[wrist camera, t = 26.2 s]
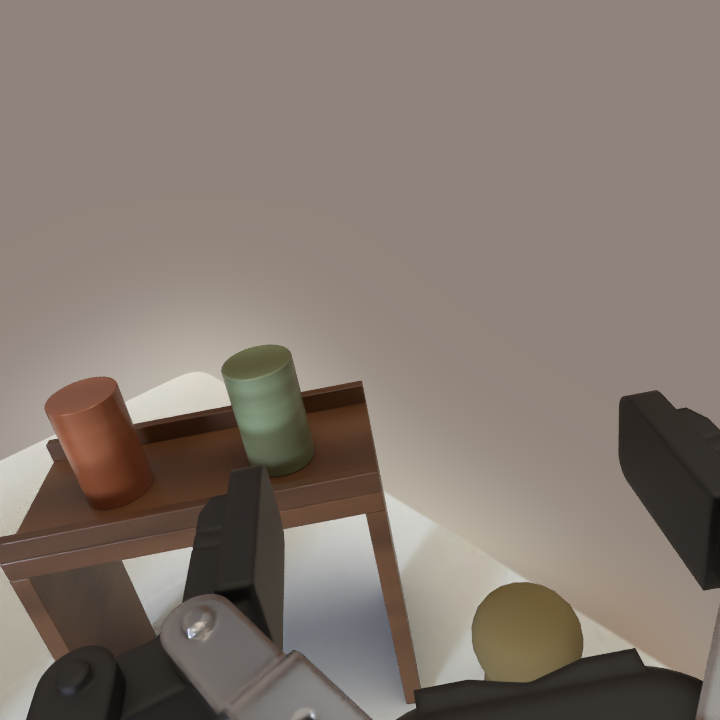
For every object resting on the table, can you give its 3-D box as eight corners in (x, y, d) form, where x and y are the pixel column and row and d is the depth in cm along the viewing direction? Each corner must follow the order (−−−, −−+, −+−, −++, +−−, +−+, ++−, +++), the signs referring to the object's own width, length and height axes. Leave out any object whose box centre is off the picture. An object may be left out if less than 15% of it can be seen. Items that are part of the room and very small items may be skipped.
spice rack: (423, 701, 41) (361, 386, 30) (112, 760, 41) (-58, 467, 30) (402, 587, 48) (347, 307, 38) (141, 636, 49) (16, 370, 38)
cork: (485, 692, 40) (468, 558, 35) (593, 708, 38) (591, 568, 33) (472, 797, 35) (450, 658, 30) (595, 821, 33) (593, 677, 28)
